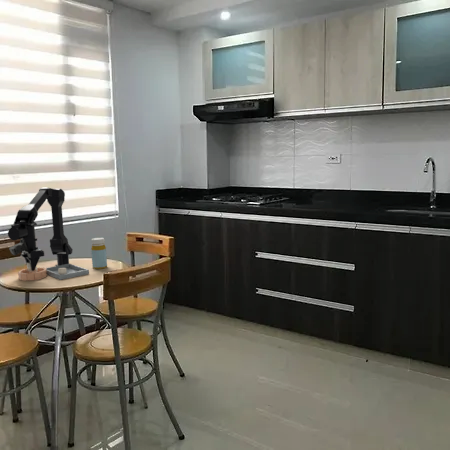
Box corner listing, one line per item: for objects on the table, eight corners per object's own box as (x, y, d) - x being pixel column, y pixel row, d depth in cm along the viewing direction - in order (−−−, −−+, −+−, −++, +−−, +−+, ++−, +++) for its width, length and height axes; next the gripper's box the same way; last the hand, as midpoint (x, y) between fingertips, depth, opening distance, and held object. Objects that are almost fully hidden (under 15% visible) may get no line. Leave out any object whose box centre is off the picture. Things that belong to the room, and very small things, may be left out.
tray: (42, 273, 230) (42, 268, 229) (70, 268, 239) (69, 263, 239) (60, 280, 215) (59, 275, 215) (88, 274, 224) (88, 269, 224)
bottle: (103, 270, 233) (101, 239, 231) (90, 269, 234) (88, 239, 232) (109, 266, 240) (107, 237, 238) (96, 266, 241) (94, 237, 239)
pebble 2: (28, 275, 224) (28, 267, 223) (36, 274, 226) (36, 266, 225) (30, 277, 221) (30, 268, 220) (38, 275, 223) (38, 267, 222)
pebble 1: (26, 271, 219) (25, 262, 219) (34, 269, 222) (33, 261, 221) (29, 272, 217) (28, 263, 216) (37, 271, 219) (36, 262, 219)
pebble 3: (57, 277, 220) (56, 268, 220) (64, 275, 223) (64, 267, 222) (60, 278, 217) (60, 269, 217) (68, 276, 220) (67, 268, 219)
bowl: (15, 278, 222) (14, 270, 222) (40, 273, 230) (40, 266, 230) (24, 282, 213) (24, 275, 213) (51, 277, 221) (50, 270, 221)
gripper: (3, 236, 218) (6, 270, 221) (17, 241, 205) (21, 276, 207) (27, 233, 226) (30, 265, 228) (43, 237, 212) (46, 271, 214)
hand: (31, 269), depth 219 cm, fingers closed on pebble 1, 4 cm apart
